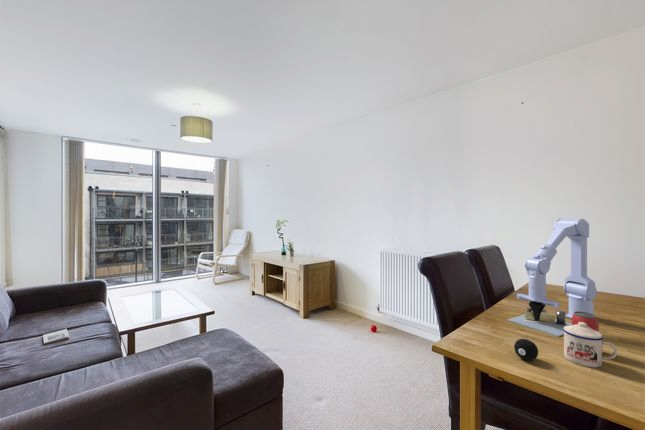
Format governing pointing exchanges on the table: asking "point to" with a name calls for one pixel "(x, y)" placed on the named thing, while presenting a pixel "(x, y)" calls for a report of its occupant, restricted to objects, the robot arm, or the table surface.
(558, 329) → the door panel
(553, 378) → the table surface
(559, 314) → the door knob
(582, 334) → the teacup with lid
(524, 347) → the billiard ball
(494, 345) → the table surface
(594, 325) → the beer can
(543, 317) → the swing bar
